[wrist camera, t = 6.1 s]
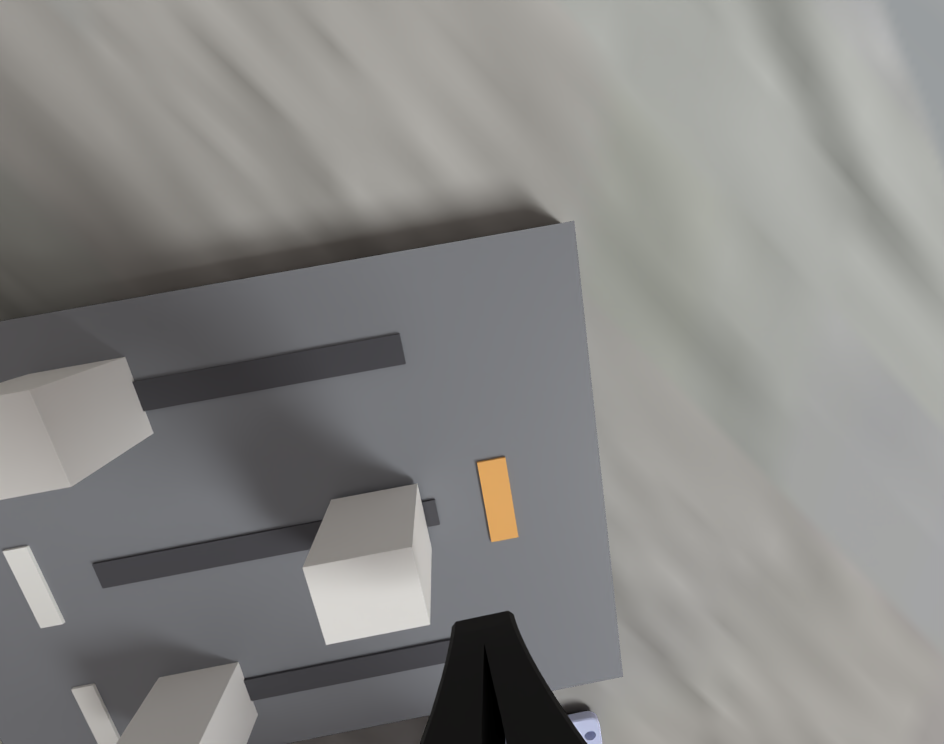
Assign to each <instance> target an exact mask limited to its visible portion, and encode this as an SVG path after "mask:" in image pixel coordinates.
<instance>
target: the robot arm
mask: <svg viewBox="0 0 944 744" xmlns="http://www.w3.org/2000/svg"><path fill="white" fill-rule="evenodd" d="M420 744H602V738H601V730H600V723H599V721H598V718H597V715H596V714H595V713H594V712H591V711H584V712H579V713H574V714H569V715H567V714H566V712H565V711H564V710H563V708H562V707H561V705H560V703H559V702H558V700H557V699H556V697H555V696H554V694H553V693H552V691H551V689H550V688H549V686H548V684H547V683H546V681H545V679H544V678H543V676H542V674H541V673H540V671H539V669H538V667H537V666H536V664H535V662H534V660H533V658H532V656H531V654H530V652H529V650H528V648H527V647H526V645H525V642H524V640H523V638H522V636H521V634H520V631H519V629H518V626H517V623H516V620H515V617H514V614H513V613H511V612H510V611H504V612H499V613H494V614H489V615H485V616H480V617H475V618H470V619H466V620H461V621H456V622H455V623H454V625H453V626H452V629H451V636H450V642H449V647H448V652H447V656H446V661H445V665H444V669H443V673H442V677H441V680H440V684H439V687H438V690H437V694H436V697H435V700H434V704H433V707H432V710H431V713H430V717H429V720H428V722H427V725H426V728H425V731H424V734H423V736H422V739H421V742H420Z"/></svg>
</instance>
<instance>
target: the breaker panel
mask: <svg viewBox="0 0 944 744" xmlns="http://www.w3.org/2000/svg"><path fill="white" fill-rule="evenodd" d="M412 484H418V488H419V493H420V497H421V502H422V506H423V511H424V515H425V520H426V525H427V529H428V534H429V538H430V543H431V547H432V558H431V608H430V625H426V626H421V627H416V628H411V629H406V630H400V631H395V632H390V633H385V634H380V635H375V636H370V637H365V638H359V639H354V640H349V641H344V642H339V643H334V644H329V645H326V643H325V640H324V636H323V633H322V630H321V627H320V623H319V620H318V617H317V614H316V610H315V607H314V604H313V601H312V597H311V594H310V591H309V588H308V584H307V581H306V578H305V575H304V571H303V565H304V563H305V560H306V558H307V556H308V553H309V551H310V549H311V546H312V544H313V542H314V539H315V537H316V534H317V532H318V530H319V527H320V525H321V523H322V520H323V518H324V516H325V513H326V511H327V508H328V506H329V504H330V501H331V500H332V499H337V498H343V497H348V496H353V495H359V494H364V493H370V492H375V491H380V490H386V489H391V488H396V487H402V486H407V485H412ZM504 611H510V612H511V613H513V614H514V617H515V620H516V623H517V626H518V629H519V631H520V634H521V636H522V638H523V640H524V642H525V645H526V647H527V648H528V650H529V652H530V654H531V656H532V658H533V660H534V662H535V664H536V666H537V667H538V669H539V671H540V673H541V674H542V676H543V678H544V679H545V681H546V683H547V684H548V686H549V688H550V689H551V691H553V690H559V689H564V688H569V687H574V686H579V685H584V684H589V683H594V682H599V681H604V680H609V679H614V678H619V677H623V672H622V663H621V653H620V644H619V635H618V625H617V616H616V607H615V597H614V588H613V579H612V569H611V560H610V551H609V541H608V532H607V523H606V513H605V504H604V495H603V485H602V476H601V467H600V457H599V448H598V439H597V429H596V420H595V411H594V401H593V392H592V383H591V373H590V364H589V355H588V345H587V336H586V327H585V317H584V308H583V299H582V289H581V280H580V271H579V261H578V252H577V243H576V233H575V224H574V221H570V222H565V223H559V224H553V225H548V226H542V227H536V228H530V229H525V230H519V231H513V232H508V233H502V234H496V235H490V236H485V237H479V238H473V239H468V240H462V241H456V242H450V243H445V244H439V245H433V246H428V247H422V248H416V249H410V250H405V251H399V252H393V253H388V254H382V255H376V256H370V257H365V258H359V259H353V260H347V261H342V262H336V263H330V264H325V265H319V266H313V267H307V268H302V269H296V270H290V271H285V272H279V273H273V274H267V275H262V276H256V277H250V278H245V279H239V280H233V281H227V282H222V283H216V284H210V285H205V286H199V287H193V288H187V289H182V290H176V291H170V292H165V293H159V294H153V295H147V296H142V297H136V298H130V299H125V300H119V301H113V302H107V303H102V304H96V305H90V306H85V307H79V308H73V309H67V310H62V311H56V312H50V313H44V314H39V315H33V316H27V317H22V318H16V319H10V320H4V321H0V740H1V742H2V743H3V744H288V743H293V742H298V741H303V740H308V739H313V738H318V737H323V736H328V735H333V734H338V733H343V732H348V731H353V730H358V729H363V728H368V727H373V726H378V725H383V724H388V723H393V722H398V721H403V720H408V719H413V718H418V717H423V716H428V715H430V713H431V710H432V707H433V704H434V700H435V697H436V694H437V690H438V687H439V684H440V680H441V677H442V673H443V669H444V665H445V661H446V656H447V652H448V647H449V642H450V636H451V629H452V626H453V625H454V623H455V622H456V621H461V620H466V619H470V618H475V617H480V616H485V615H489V614H494V613H499V612H504Z"/></svg>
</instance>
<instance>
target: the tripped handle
mask: <svg viewBox="0 0 944 744" xmlns="http://www.w3.org/2000/svg"><path fill="white" fill-rule="evenodd" d="M431 558H432V547H431V543H430V538H429V534H428V529H427V525H426V520H425V515H424V511H423V506H422V502H421V497H420V493H419V488H418V484H412V485H407V486H402V487H396V488H391V489H386V490H380V491H375V492H370V493H364V494H359V495H353V496H348V497H343V498H337V499H332V500H331V501H330V504H329V506H328V508H327V511H326V513H325V516H324V518H323V520H322V523H321V525H320V527H319V530H318V532H317V534H316V537H315V539H314V542H313V544H312V546H311V549H310V551H309V553H308V556H307V558H306V560H305V563H304V565H303V571H304V575H305V578H306V581H307V584H308V588H309V591H310V594H311V597H312V601H313V604H314V607H315V610H316V614H317V617H318V620H319V623H320V627H321V630H322V633H323V636H324V640H325V643H326V645H329V644H334V643H339V642H344V641H349V640H354V639H359V638H365V637H370V636H375V635H380V634H385V633H390V632H395V631H400V630H406V629H411V628H416V627H421V626H426V625H430V608H431Z"/></svg>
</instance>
